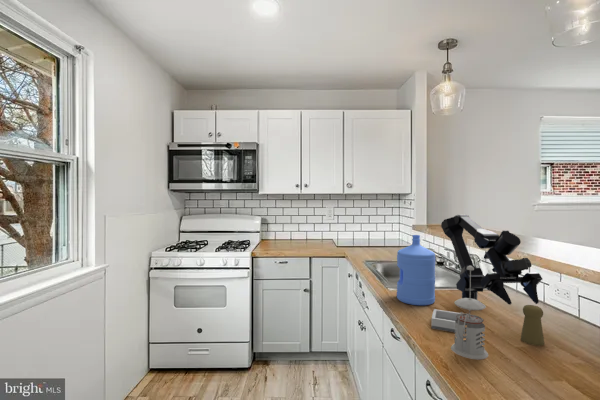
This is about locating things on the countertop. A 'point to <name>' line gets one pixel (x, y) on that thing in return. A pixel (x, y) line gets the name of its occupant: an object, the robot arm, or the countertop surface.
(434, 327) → the grey square open box
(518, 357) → the countertop surface
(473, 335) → the french press
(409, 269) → the water jug
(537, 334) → the cork
